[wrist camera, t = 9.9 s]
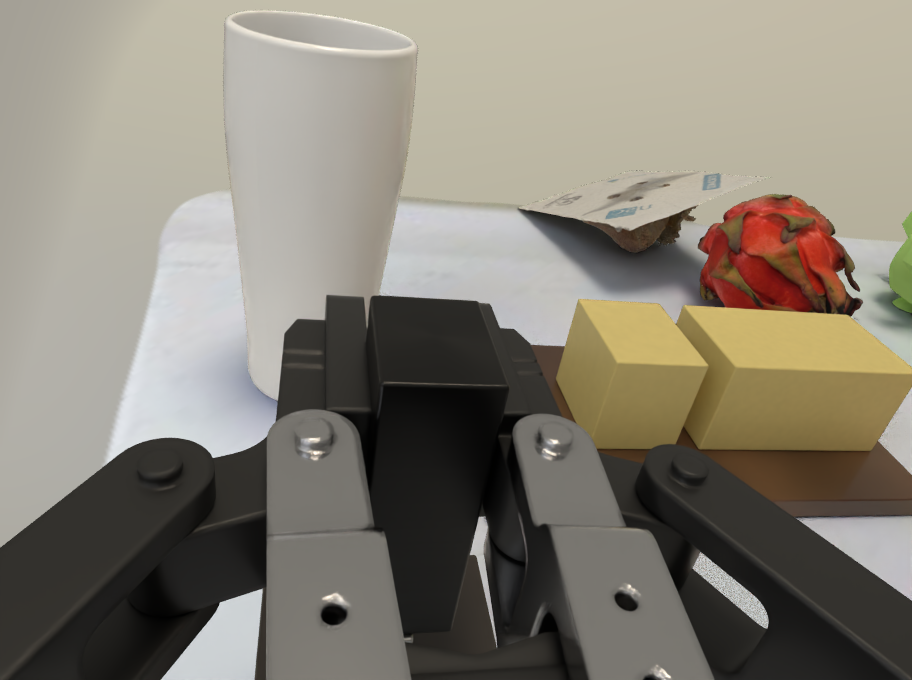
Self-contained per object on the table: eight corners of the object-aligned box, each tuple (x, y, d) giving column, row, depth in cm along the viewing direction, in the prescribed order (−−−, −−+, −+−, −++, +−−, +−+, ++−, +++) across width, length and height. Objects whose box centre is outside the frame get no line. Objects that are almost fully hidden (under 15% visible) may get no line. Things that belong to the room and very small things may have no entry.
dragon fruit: (713, 290, 50) (781, 410, 41) (649, 222, 46) (710, 339, 37) (822, 218, 46) (923, 332, 37) (763, 136, 42) (862, 242, 33)
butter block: (808, 387, 36) (848, 314, 33) (871, 451, 32) (921, 373, 29) (653, 382, 34) (682, 304, 31) (698, 450, 30) (736, 366, 27)
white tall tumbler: (232, 429, 28) (222, 36, 20) (229, 338, 33) (220, 1, 25) (394, 418, 30) (443, 60, 22) (366, 335, 35) (398, 23, 27)
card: (640, 223, 59) (632, 166, 58) (779, 244, 46) (774, 172, 44) (528, 264, 56) (515, 206, 54) (641, 301, 43) (629, 225, 41)
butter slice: (631, 381, 34) (659, 302, 31) (673, 450, 29) (709, 365, 27) (555, 379, 33) (578, 298, 30) (587, 449, 29) (617, 362, 26)
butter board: (786, 370, 39) (793, 355, 38) (925, 515, 30) (937, 499, 29) (445, 357, 35) (448, 340, 34) (487, 522, 26) (492, 503, 25)
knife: (394, 729, 18) (478, 296, 11) (403, 839, 16) (513, 391, 9) (327, 734, 18) (370, 290, 11) (327, 848, 16) (380, 388, 9)
